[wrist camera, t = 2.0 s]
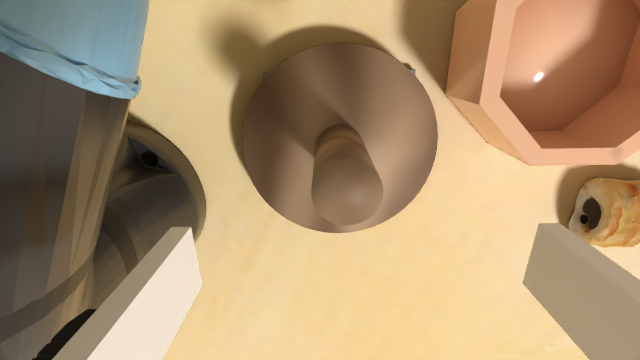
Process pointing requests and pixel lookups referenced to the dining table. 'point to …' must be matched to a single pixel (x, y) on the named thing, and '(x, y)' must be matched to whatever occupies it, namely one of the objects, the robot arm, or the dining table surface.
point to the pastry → (608, 213)
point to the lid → (339, 137)
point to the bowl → (550, 78)
